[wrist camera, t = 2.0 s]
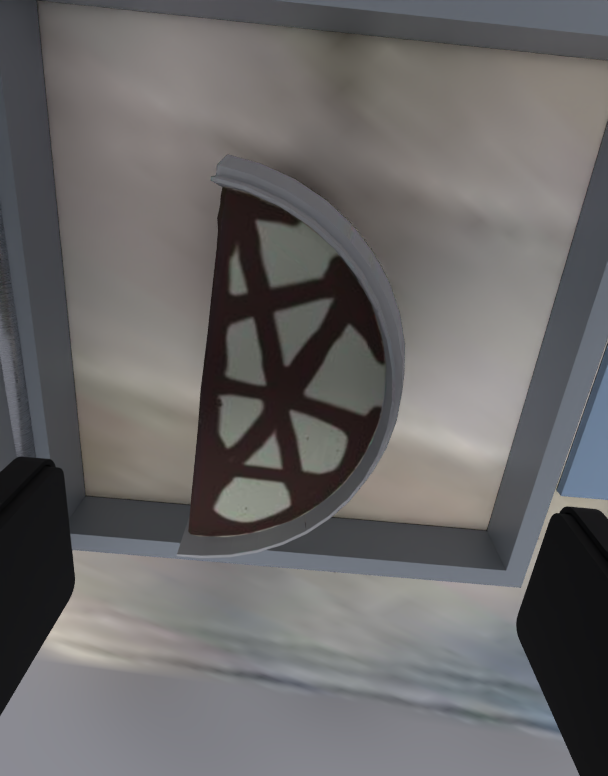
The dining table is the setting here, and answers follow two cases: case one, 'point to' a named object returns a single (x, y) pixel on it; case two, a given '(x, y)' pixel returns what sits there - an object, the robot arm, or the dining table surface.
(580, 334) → the case
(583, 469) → the mat
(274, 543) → the food container
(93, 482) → the dining table surface
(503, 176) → the dining table surface
